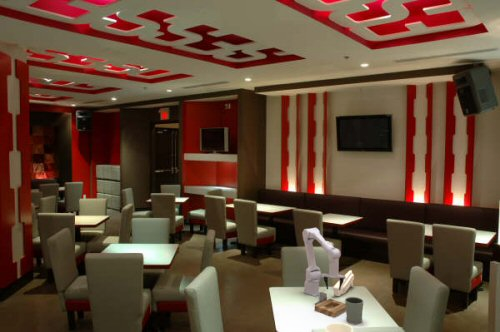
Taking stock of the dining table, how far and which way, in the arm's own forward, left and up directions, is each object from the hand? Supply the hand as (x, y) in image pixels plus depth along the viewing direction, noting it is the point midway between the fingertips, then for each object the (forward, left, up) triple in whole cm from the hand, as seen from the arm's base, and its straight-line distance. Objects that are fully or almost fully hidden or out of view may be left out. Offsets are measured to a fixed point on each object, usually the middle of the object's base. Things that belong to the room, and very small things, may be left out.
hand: (333, 289), depth 260 cm
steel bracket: (-5, -6, -10) cm, 13 cm away
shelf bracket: (-6, +23, -10) cm, 26 cm away
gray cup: (+22, -12, -10) cm, 26 cm away
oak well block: (+5, -9, -10) cm, 14 cm away
